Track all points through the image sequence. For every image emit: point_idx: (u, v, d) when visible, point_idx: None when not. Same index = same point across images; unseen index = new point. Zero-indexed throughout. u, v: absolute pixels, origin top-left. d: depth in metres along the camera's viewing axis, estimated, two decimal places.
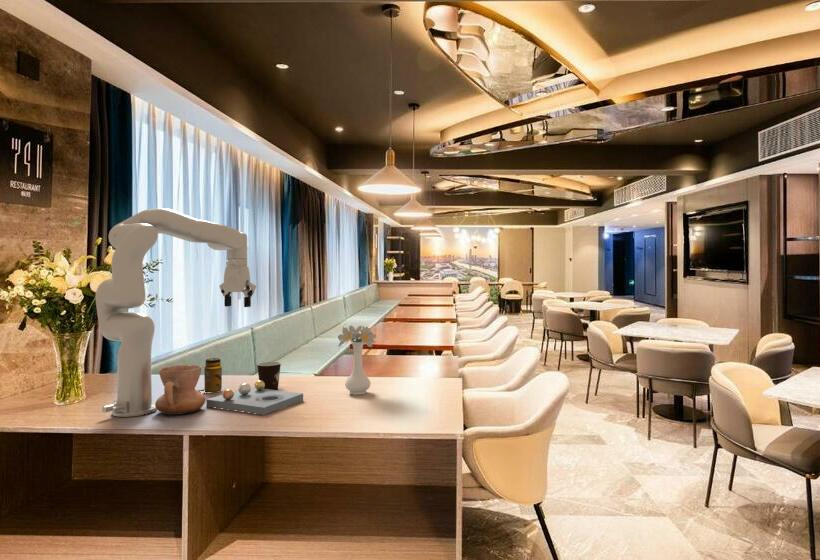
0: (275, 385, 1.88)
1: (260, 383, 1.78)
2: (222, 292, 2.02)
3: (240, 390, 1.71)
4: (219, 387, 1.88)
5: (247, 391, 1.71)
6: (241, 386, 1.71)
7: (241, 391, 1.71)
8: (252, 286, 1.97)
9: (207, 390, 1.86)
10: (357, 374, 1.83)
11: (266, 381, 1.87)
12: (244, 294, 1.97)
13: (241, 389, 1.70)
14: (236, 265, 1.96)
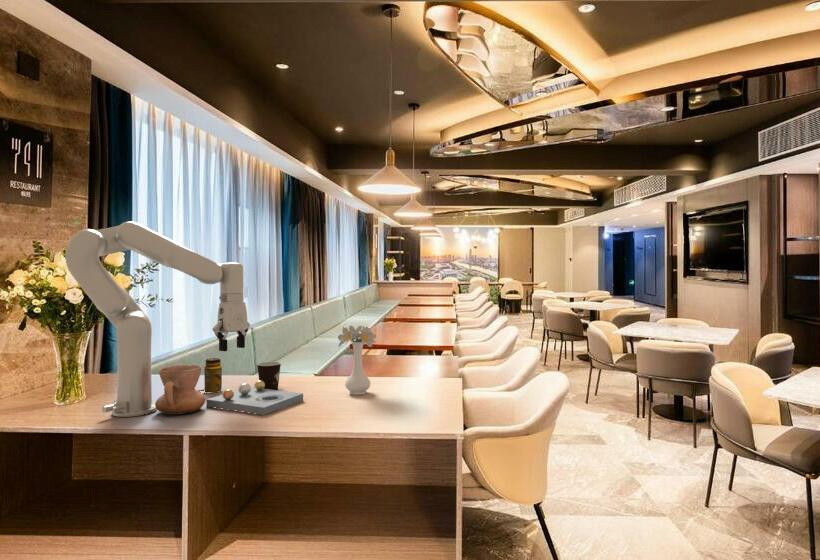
0: (275, 385, 1.88)
1: (260, 383, 1.78)
2: (220, 335, 1.69)
3: (240, 390, 1.71)
4: (219, 387, 1.88)
5: (247, 391, 1.71)
6: (241, 386, 1.71)
7: (241, 391, 1.71)
8: (248, 324, 1.81)
9: (207, 390, 1.86)
10: (357, 374, 1.83)
11: (266, 381, 1.87)
12: (243, 333, 1.77)
13: (241, 389, 1.70)
14: None
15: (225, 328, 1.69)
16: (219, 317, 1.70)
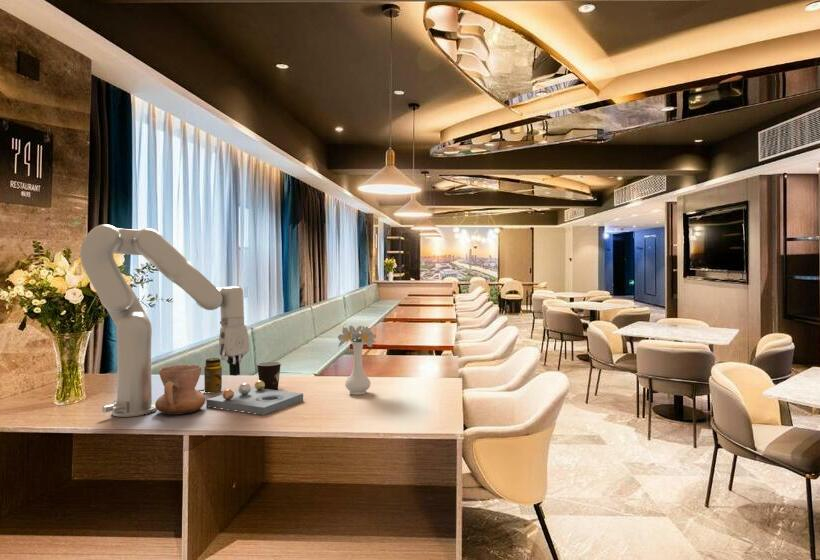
0: (275, 385, 1.88)
1: (260, 383, 1.78)
2: (230, 360, 1.72)
3: (240, 390, 1.71)
4: (219, 387, 1.88)
5: (247, 391, 1.71)
6: (241, 386, 1.71)
7: (241, 391, 1.71)
8: (245, 353, 1.79)
9: (207, 390, 1.86)
10: (357, 374, 1.83)
11: (266, 381, 1.87)
12: (238, 358, 1.75)
13: (241, 389, 1.70)
14: None
15: (227, 353, 1.69)
16: (220, 342, 1.71)
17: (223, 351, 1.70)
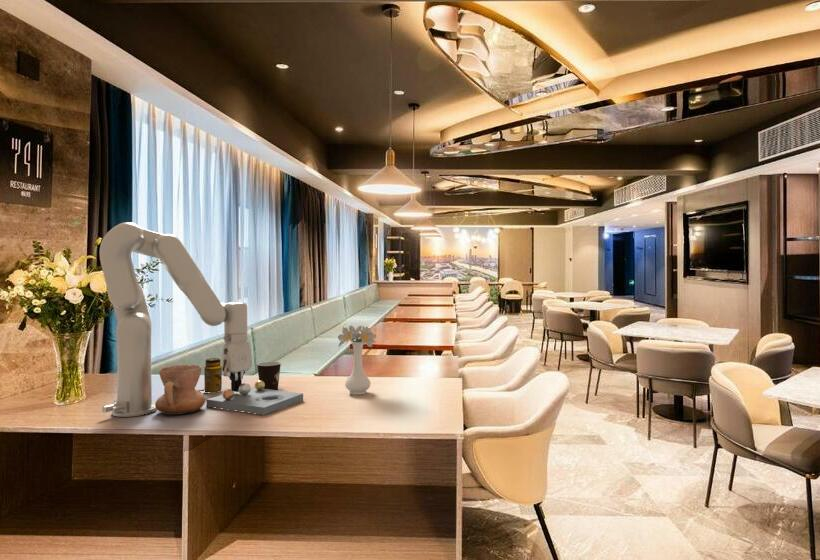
0: (275, 385, 1.88)
1: (260, 383, 1.78)
2: (232, 376, 1.71)
3: (240, 390, 1.71)
4: (219, 387, 1.88)
5: (247, 391, 1.71)
6: (241, 386, 1.71)
7: (241, 391, 1.71)
8: None
9: (207, 390, 1.86)
10: (357, 374, 1.83)
11: (266, 381, 1.87)
12: (240, 374, 1.74)
13: (241, 389, 1.70)
14: None
15: (229, 369, 1.69)
16: (223, 358, 1.70)
17: (225, 367, 1.70)
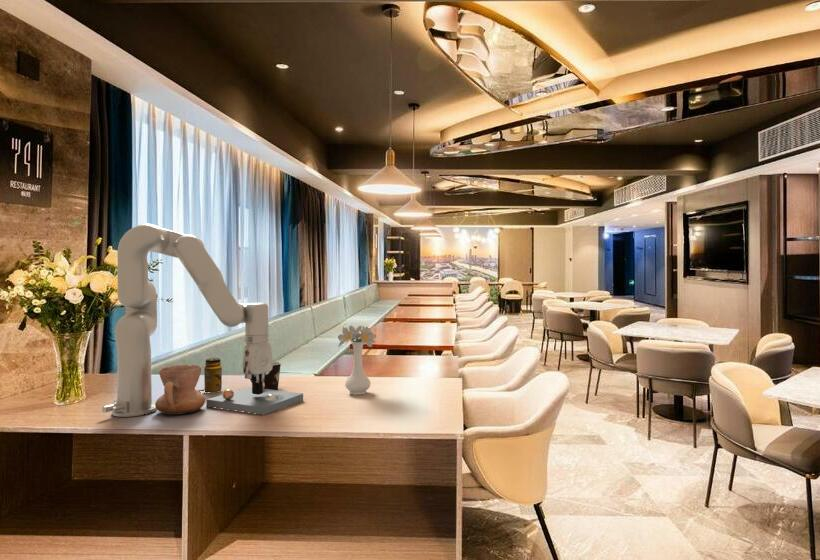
0: (275, 385, 1.88)
1: None
2: (254, 378, 1.67)
3: None
4: (219, 387, 1.88)
5: None
6: (266, 399, 1.67)
7: None
8: None
9: (207, 390, 1.86)
10: (357, 374, 1.83)
11: (266, 381, 1.87)
12: (262, 377, 1.70)
13: None
14: (268, 341, 1.71)
15: (251, 371, 1.65)
16: (244, 360, 1.66)
17: (247, 369, 1.66)
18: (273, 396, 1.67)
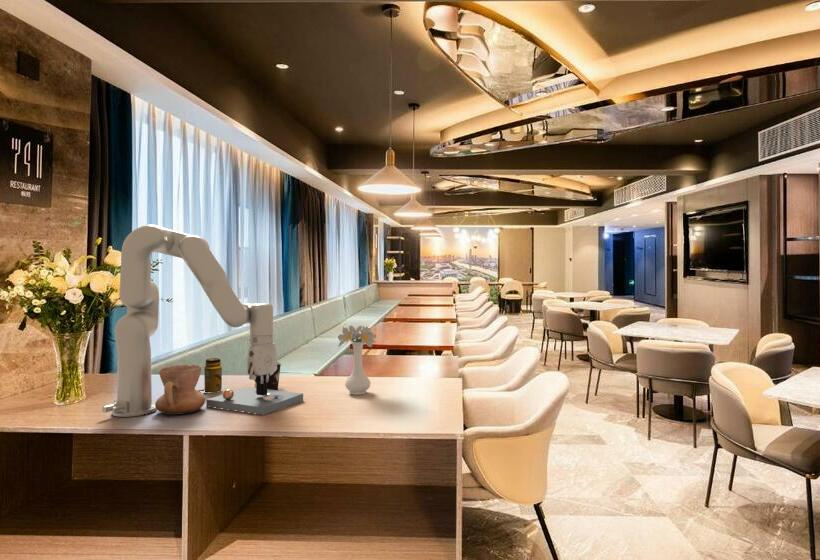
0: (275, 385, 1.88)
1: None
2: (258, 379, 1.67)
3: None
4: (219, 387, 1.88)
5: None
6: (263, 398, 1.67)
7: None
8: None
9: (207, 390, 1.86)
10: (357, 374, 1.83)
11: None
12: (266, 378, 1.69)
13: None
14: None
15: (255, 372, 1.64)
16: (249, 360, 1.65)
17: (251, 370, 1.65)
18: (270, 395, 1.67)
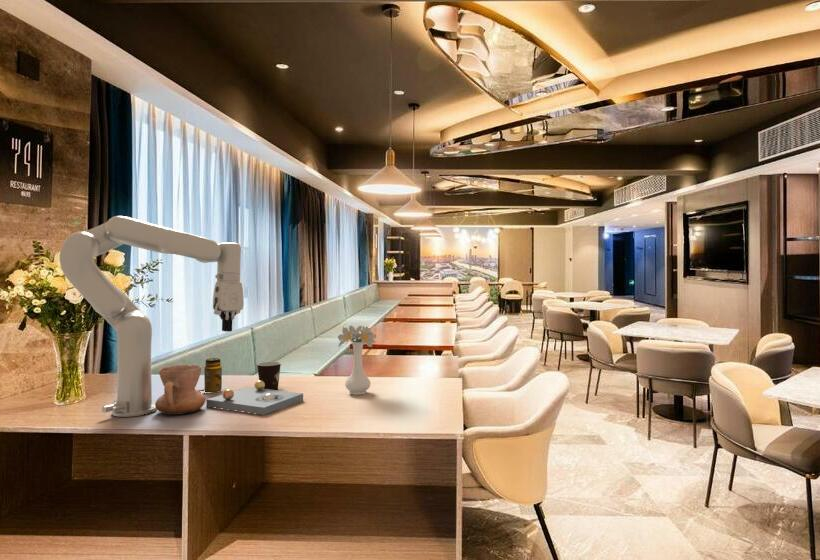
0: (275, 385, 1.88)
1: (260, 383, 1.78)
2: (223, 315, 1.72)
3: None
4: (219, 387, 1.88)
5: None
6: (264, 398, 1.67)
7: None
8: (239, 311, 1.79)
9: (207, 390, 1.86)
10: (357, 374, 1.83)
11: (266, 381, 1.87)
12: (232, 315, 1.75)
13: None
14: (239, 280, 1.75)
15: (220, 307, 1.69)
16: (215, 296, 1.71)
17: (216, 305, 1.71)
18: (271, 395, 1.67)
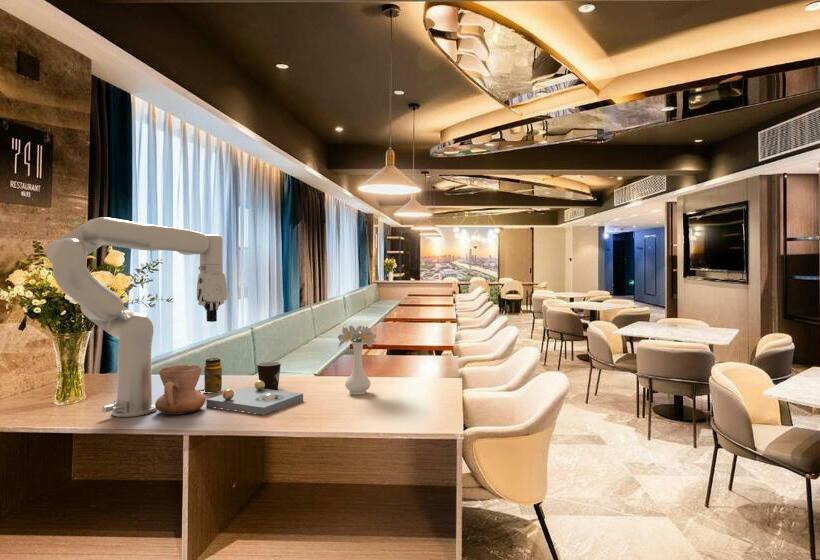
0: (275, 385, 1.88)
1: (260, 383, 1.78)
2: (207, 306, 1.76)
3: None
4: (219, 387, 1.88)
5: None
6: (264, 398, 1.67)
7: None
8: (222, 301, 1.82)
9: (207, 390, 1.86)
10: (357, 374, 1.83)
11: (266, 381, 1.87)
12: (216, 305, 1.78)
13: None
14: (222, 271, 1.79)
15: (204, 298, 1.73)
16: (198, 287, 1.74)
17: (200, 296, 1.74)
18: (271, 395, 1.67)
